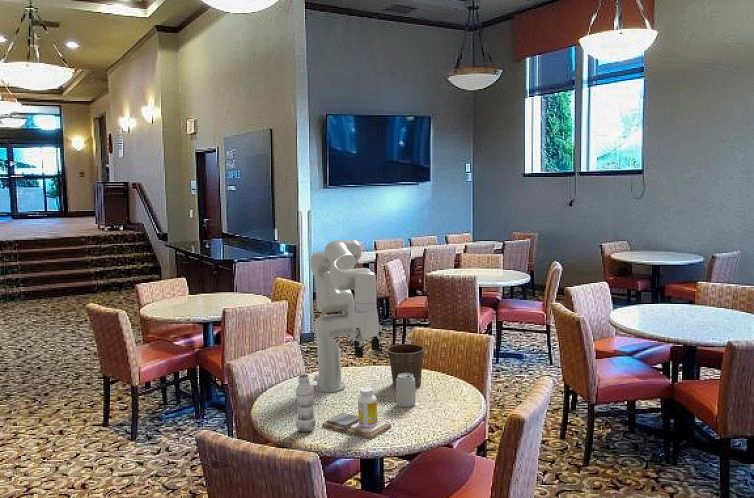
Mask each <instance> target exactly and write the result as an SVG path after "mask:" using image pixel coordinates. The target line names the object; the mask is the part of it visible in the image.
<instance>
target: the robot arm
mask: <svg viewBox="0 0 754 498" xmlns="http://www.w3.org/2000/svg"><path fill="white" fill-rule="evenodd" d="M361 256H362V246H361V245H360V243H359V242H358V241H357V240H355V239H346V240H344V239H343V240H342V239H341V240H334V241H330V242H328V243H327V244H326V245H325V247H324V250H323V251H322V250H321V251H317V252H314V253H313V254H311V256H310V261H309V262H310V269H311V272H312V275H313V277H314V283H315V295H316V296H315V298H316V307H317V310H318V312H320V313H326V314H327V313H336V312H342V313H336V314H328V315H322V316H319V317H317V318H316V319H315V321H314V323H313V324H314V325H313V326H314V327H313V328H314V333H315V339H316V346H317V347H316V348H317V364H318V374H315V375H314V377H313V379H312V381H314V382H317V384H316V385H315V390H316V391H318V392H321V393H337V392H340V391H342V390H344V389H346V383H345V382H343V381H342V366H341V363H342V362H341V347H340V345H339V343H338V342H337V341H336V340H335V338H337V337H346V336H347V337H348V336H349V339H350V341H351V344H352V345H353V347H354V357H355V358H359V359H363V358H364V349H363V346H362V345H363V343H364V341H366V340H370V339H371V340H370V341H371V350H372V351H375V352H380V340H381V335H382V330H383V325H381V324H380V321H379V320H380V319H379V314H378V313H379V312H378V310H377V278H376V276H377V275H376V273H375V272H373V271H371V269H369V268H366V267H360V268H358V267H357V268H354V267H355V265H356V264H357V263H358V262H359V260H360V259H361ZM352 290H354V294H353V292H352Z"/></svg>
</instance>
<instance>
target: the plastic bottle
mask: <svg viewBox="0 0 754 498" xmlns="http://www.w3.org/2000/svg"><path fill="white" fill-rule="evenodd" d="M310 381H311V379H310V374H301V375H299V376H298V385H297V386H296V388H295V398H296V401H297V419H296V428H297V430H298V431H299V432H301V433H309V432H313V430H315V429H316V419H315V414H314V413H315V412H314V399H315V397H314V396H315V389H314V386H313V385H312V384H311V383H310Z"/></svg>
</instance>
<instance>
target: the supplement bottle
mask: <svg viewBox="0 0 754 498" xmlns="http://www.w3.org/2000/svg"><path fill="white" fill-rule="evenodd" d="M374 392H375V391H374V388H373V387H368V386H367V387H361V388H360V390H359V393H360V396H358V398H357V410H358V411H357V412H358V413H357V414H358V415H357V416H359V425H360V426H362V427H367V428H368V427H374V426H376V425H377V423H378V420H379V419H378V403H377V402H378V401H377V399H378V398H377V396H376V395H374Z"/></svg>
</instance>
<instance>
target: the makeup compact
mask: <svg viewBox="0 0 754 498" xmlns="http://www.w3.org/2000/svg"><path fill="white" fill-rule="evenodd" d="M321 425H322V427H323V428H327V429H331V430H334V431H337V430H338V432H342V433H345V434H349V435H353V436H357V437H360V438H363V439H368V440H373V439H374V438H376V437H378V436H380V435H381V434H383V433H385V432H386V431H388V430H389V429H391V428H392V424H390V423H387V422H382V421H380V420H379V421H378V423H377V425H376V426H374V427H368V428H367V427H362V426H360V425H359V415H354V414H350V413H347V412H340V413H339V414H337V415H334V416H332V417H331V418H328V419H327V420H325V421H324V422H322V423H321Z"/></svg>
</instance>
